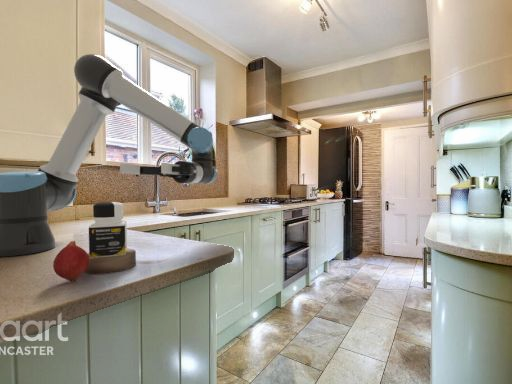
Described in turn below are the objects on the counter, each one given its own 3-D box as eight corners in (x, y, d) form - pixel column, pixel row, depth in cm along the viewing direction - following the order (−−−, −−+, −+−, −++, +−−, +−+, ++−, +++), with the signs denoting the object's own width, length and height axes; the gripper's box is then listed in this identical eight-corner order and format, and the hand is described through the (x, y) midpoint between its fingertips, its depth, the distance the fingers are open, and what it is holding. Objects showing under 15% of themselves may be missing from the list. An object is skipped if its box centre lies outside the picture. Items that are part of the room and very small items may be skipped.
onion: (51, 288, 50) (49, 245, 49) (57, 279, 55) (55, 239, 54) (88, 283, 52) (87, 242, 52) (90, 274, 57) (89, 237, 57)
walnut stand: (93, 261, 67) (93, 249, 67) (140, 258, 69) (140, 247, 69) (72, 275, 57) (72, 261, 57) (128, 272, 59) (128, 258, 59)
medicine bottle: (89, 259, 58) (87, 203, 58) (94, 251, 65) (92, 201, 65) (125, 255, 61) (124, 202, 61) (126, 248, 68) (125, 200, 67)
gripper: (220, 183, 88) (181, 182, 68) (156, 183, 96) (105, 182, 76) (220, 160, 88) (181, 152, 68) (156, 162, 96) (105, 155, 76)
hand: (141, 168), depth 72 cm, fingers open, 13 cm apart
